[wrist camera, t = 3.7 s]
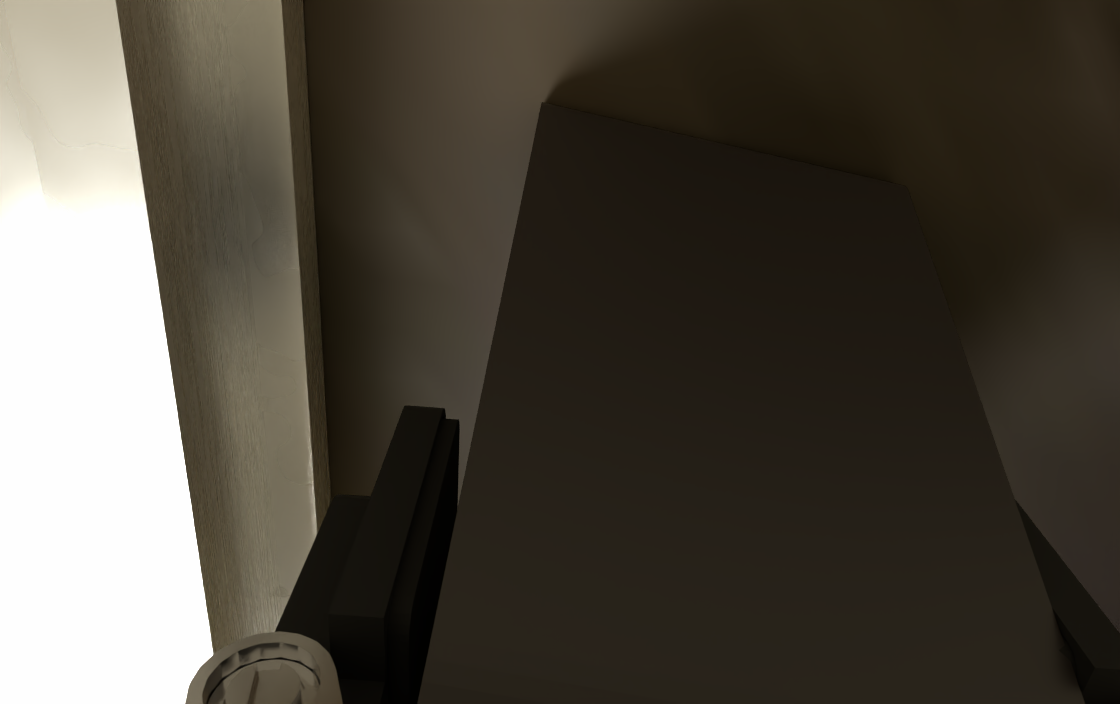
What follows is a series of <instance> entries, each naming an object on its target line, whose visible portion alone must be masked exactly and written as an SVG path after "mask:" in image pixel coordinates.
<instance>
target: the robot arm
mask: <svg viewBox="0 0 1120 704" xmlns="http://www.w3.org/2000/svg"><path fill="white" fill-rule="evenodd" d="M458 465H459V420H455V419H446V414H445V409H444V408H432V407H419V406H404V408H403V410H402V413H401V416H400V419H399V421H398V424H397V427H396V430H395V432H394V435H393V438H392V440H391V443H390V446H389V449H388V451H387V454H386V457H385V459H384V462H383V465H382V468H381V470H380V473H379V476H378V479H377V481H376V484H375V487H374V489H373V492H372V495H371V497H369V496H356V495H342V494H338V495H336V496H335V497H334V498H333V500H332V502H331V503H330V506H329V508H328V510H327V513H326V515H325V517H324V519H323V522H322V524H321V526H320V529H319V531H318V533H317V536H316V538H315V540H314V542H313V545H312V547H311V549H310V552H309V554H308V556H307V559H306V561H305V563H304V566H303V568H302V570H301V572H300V575H299V577H298V579H297V582H296V584H295V586H294V589H293V591H292V593H291V595H290V598H289V600H288V602H287V605H286V607H285V609H284V612H283V614H282V616H281V618H280V621H279V623H278V625H277V628H276V630H275V632H269V633H259V634H255V635H252V636H249V637H246V638H242V639H239V640H236V641H234V642H233V643H231V644H229V645H227V646H226V647H224V648H222V649H220V650H219V651H217V652H215V653H214V654H213V655H212V656H211V657H210V658H209V659H208V660H207V661H206V662H204V663H203V664H202V665H201V666H200V667H199V669H198V670H197V672H196V674H195V675H194V677H193V678H192V680H191V682H190V683H189V686H188V691H187V695H186V700H185V704H417V703H418V698H419V693H420V689H421V684H422V679H423V674H424V669H425V664H426V660H427V655H428V650H429V645H430V640H431V635H432V631H433V626H434V621H435V616H436V611H437V606H438V602H439V597H440V592H441V587H442V582H443V577H444V573H445V568H446V563H447V558H448V553H449V548H450V544H451V539H452V534H453V529H454V524H455V519H456V515H457V503H458ZM1015 502H1016V505H1017V508H1018V511H1019V513H1020V516H1021V519H1022V522H1023V525H1024V528H1025V531H1026V534H1027V537H1028V540H1029V542H1030V545H1031V548H1032V551H1033V554H1034V557H1035V560H1036V563H1037V566H1038V569H1039V571H1040V574H1041V577H1042V580H1043V583H1044V586H1045V589H1046V592H1047V595H1048V598H1049V600H1050V603H1051V606H1052V609H1053V612H1054V615H1055V618H1056V621H1057V624H1058V627H1059V629H1060V632H1061V635H1062V638H1063V641H1064V644H1065V645H1064V646H1063V647H1062V648H1061V649H1059V651H1060V652H1061V653H1062V654H1063V655H1064V656H1066V657H1067V658H1068V659H1069V660H1070V661H1071V664H1072V667H1073V670H1074V673H1075V676H1076V679H1077V682H1078V685H1079V688H1080V690H1081V693H1082V696H1083V699H1084V702H1085V704H1120V633H1119V632H1118V631H1117V630H1116V628H1115V627H1114V626H1113V624H1112V623H1111V622H1110V621H1109V619H1108V618H1107V617H1106V615H1105V614H1104V613H1103V612H1102V610H1101V609H1100V608H1099V606H1098V605H1097V604H1096V603H1095V601H1094V600H1093V599H1092V598H1091V596H1090V595H1089V594H1088V592H1087V591H1086V590H1085V589H1084V587H1083V586H1082V585H1081V583H1080V582H1079V581H1078V580H1077V578H1076V577H1075V576H1074V574H1073V573H1072V572H1071V571H1070V569H1069V568H1068V567H1067V565H1066V564H1065V563H1064V562H1063V560H1062V559H1061V558H1060V556H1059V555H1058V554H1057V553H1056V551H1055V550H1054V549H1053V547H1052V546H1051V545H1050V544H1049V542H1048V541H1047V540H1046V538H1045V537H1044V536H1043V535H1042V533H1041V532H1040V531H1039V529H1038V528H1037V527H1036V526H1035V524H1034V523H1033V522H1032V520H1031V519H1030V518H1029V517H1028V515H1027V514H1026V513H1025V511H1024V510H1023V509H1022V508H1021V506H1020V505H1019V504H1018V503H1017V501H1016V500H1015Z"/></svg>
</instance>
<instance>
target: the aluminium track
mask: <svg viewBox="0 0 1120 704" xmlns="http://www.w3.org/2000/svg"><path fill="white" fill-rule="evenodd" d="M330 503H331V490H330V473H329V455H328V437H327V420H326V402H325V384H324V367H323V349H322V331H321V314H320V296H319V279H318V261H317V243H316V226H315V208H314V190H313V173H312V155H311V137H310V120H309V102H308V84H307V67H306V49H305V32H304V14H303V0H0V704H185V700H186V695H187V691H188V686H189V683H190V682H191V680H192V678H193V677H194V675H195V674H196V672H197V670H198V669H199V667H200V666H201V665H202V664H203V663H204V662H206V661H207V660H208V659H209V658H210V657H211V656H212V655H213V654H214V653H215V652H217V651H219V650H220V649H222V648H224V647H226V646H227V645H229V644H231V643H233V642H234V641H236V640H239V639H242V638H246V637H249V636H252V635H255V634H259V633H269V632H275V630H276V628H277V625H278V623H279V621H280V618H281V616H282V614H283V612H284V609H285V607H286V605H287V602H288V600H289V598H290V595H291V593H292V591H293V589H294V586H295V584H296V582H297V579H298V577H299V575H300V572H301V570H302V568H303V566H304V563H305V561H306V559H307V556H308V554H309V552H310V549H311V547H312V545H313V542H314V540H315V538H316V536H317V533H318V531H319V529H320V526H321V524H322V522H323V519H324V517H325V515H326V513H327V510H328V508H329V506H330Z"/></svg>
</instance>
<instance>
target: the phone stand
mask: <svg viewBox="0 0 1120 704" xmlns="http://www.w3.org/2000/svg"><path fill="white" fill-rule="evenodd" d="M1064 645H1065V644H1064V641H1063V638H1062V635H1061V632H1060V629H1059V627H1058V624H1057V621H1056V618H1055V615H1054V612H1053V609H1052V606H1051V603H1050V600H1049V598H1048V595H1047V592H1046V589H1045V586H1044V583H1043V580H1042V577H1041V574H1040V571H1039V569H1038V566H1037V563H1036V560H1035V557H1034V554H1033V551H1032V548H1031V545H1030V542H1029V540H1028V537H1027V534H1026V531H1025V528H1024V525H1023V522H1022V519H1021V516H1020V513H1019V511H1018V508H1017V505H1016V502H1015V499H1014V496H1013V493H1012V490H1011V487H1010V484H1009V481H1008V479H1007V476H1006V473H1005V470H1004V467H1003V464H1002V461H1001V458H1000V455H999V452H998V450H997V447H996V444H995V441H994V438H993V435H992V432H991V429H990V426H989V423H988V421H987V418H986V415H985V412H984V409H983V406H982V403H981V400H980V397H979V394H978V392H977V389H976V386H975V383H974V380H973V377H972V374H971V371H970V368H969V365H968V362H967V360H966V357H965V354H964V351H963V348H962V345H961V342H960V339H959V336H958V333H957V331H956V328H955V325H954V322H953V319H952V316H951V313H950V310H949V307H948V304H947V302H946V299H945V296H944V293H943V290H942V287H941V284H940V281H939V278H938V275H937V273H936V270H935V267H934V264H933V261H932V258H931V255H930V252H929V249H928V246H927V244H926V241H925V238H924V235H923V232H922V229H921V226H920V223H919V220H918V217H917V214H916V212H915V209H914V206H913V203H912V200H911V197H910V194H909V191H908V189H907V187H906V186H904V185H899V184H895V183H891V182H886V181H882V180H877V179H873V178H869V177H864V176H860V175H856V174H851V173H847V172H843V171H838V170H834V169H830V168H825V167H821V166H817V165H812V164H808V163H804V162H799V161H795V160H791V159H786V158H782V157H778V156H773V155H769V154H764V153H760V152H756V151H751V150H747V149H743V148H738V147H734V146H730V145H725V144H721V143H717V142H712V141H708V140H704V139H699V138H695V137H691V136H686V135H682V134H678V133H673V132H669V131H665V130H660V129H656V128H652V127H647V126H643V125H638V124H634V123H630V122H625V121H621V120H617V119H612V118H608V117H604V116H599V115H595V114H591V113H586V112H582V111H578V110H573V109H569V108H565V107H560V106H556V105H552V104H547V103H543V102H542V104H541V109H540V113H539V118H538V123H537V128H536V133H535V138H534V142H533V147H532V152H531V157H530V162H529V167H528V171H527V176H526V181H525V186H524V191H523V196H522V200H521V205H520V210H519V215H518V220H517V225H516V229H515V234H514V239H513V244H512V249H511V254H510V258H509V263H508V268H507V273H506V278H505V283H504V287H503V292H502V297H501V302H500V307H499V312H498V316H497V321H496V326H495V331H494V336H493V341H492V345H491V350H490V355H489V360H488V365H487V370H486V374H485V379H484V384H483V389H482V394H481V399H480V403H479V408H478V413H477V418H476V423H475V428H474V432H473V437H472V442H471V447H470V452H469V457H468V461H467V466H466V471H465V476H464V481H463V486H462V490H461V495H460V500H459V505H458V510H457V515H456V519H455V524H454V529H453V534H452V539H451V544H450V548H449V553H448V558H447V563H446V568H445V573H444V577H443V582H442V587H441V592H440V597H439V602H438V606H437V611H436V616H435V621H434V626H433V631H432V635H431V640H430V645H429V650H428V655H427V660H426V664H425V669H424V674H423V679H422V684H421V689H420V693H419V698H418V703H417V704H1085V702H1084V699H1083V696H1082V693H1081V690H1080V688H1079V685H1078V682H1077V679H1076V676H1075V673H1074V670H1073V667H1072V664H1071V661H1070V660H1069V659H1068V658H1067V657H1066V656H1064V655H1063V654H1062V653H1061V652H1060V651H1059V649H1061V648H1062V647H1063V646H1064Z"/></svg>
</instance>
